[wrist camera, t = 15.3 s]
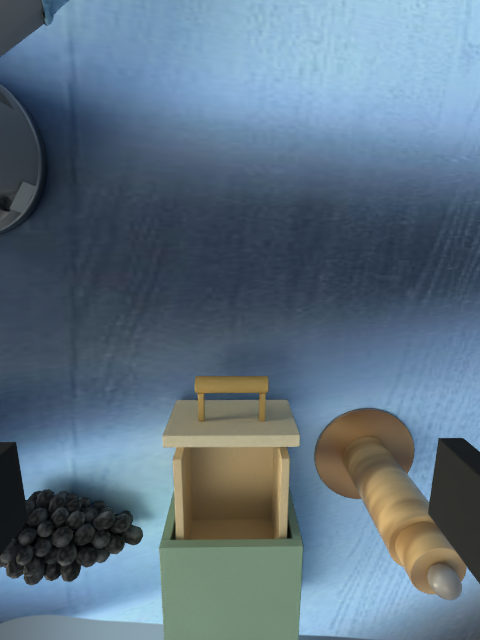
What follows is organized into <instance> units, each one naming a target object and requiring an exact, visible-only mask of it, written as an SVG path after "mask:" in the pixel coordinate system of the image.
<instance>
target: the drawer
mask: <svg viewBox="0 0 480 640" xmlns="http://www.w3.org/2000/svg"><path fill="white" fill-rule="evenodd" d="M268 388H269V383H268V376H196V378H195V392H196V393H198V400H176V403H175V405H174V408H173V411H172V413H171V416H170V418H169V421H168V424H167V426H166V429H165V431H164V434H163V447H177V448H176V451H175V454H174V458H173V474H174V498H175V522H176V540H222V539H287V520H288V495H289V471H290V457H289V454H288V450H287V447H299V446H300V434H299V431H298V428H297V425H296V423H295V420H294V417H293V414H292V411H291V409H290V406H289V403H288V400H266V393H268ZM204 393H259V400H205V397H204Z"/></svg>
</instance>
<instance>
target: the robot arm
mask: <svg viewBox="0 0 480 640" xmlns="http://www.w3.org/2000/svg"><path fill="white" fill-rule="evenodd" d="M68 1H69V0H0V57H1V56H2V55H3V54H5V53H6V52H7V51H9V50H10V49H11V48H13V47H14V46H15V45H17V44H18V43H19V42H21V41H22V40H23V39H25V38H26V37H27V36H28V35H30V34H31V33H32V32H34V31H35V30H36V29H38V28H39V27H40V26H42V25H43V24H45V25H46V26H48V25H49V24H51V22H52V21H53V17H54V14H55V13H56V12H57V11H58V10H59V9H60V8H61V7H62V6H63V5H64V4H65V3H66V2H68ZM45 180H46V155H45V149H44V145H43V141H42V138H41V135H40V133H39V130H38V128H37V126H36V124H35V122H34V120H33V118H32V117H31V115H30V114H29V112H28V111H27V109H26V108H25V107H24V105H23V104H22V103H21V102H20V101H19V100H18V99H17V98H16V96H14V95H13V94H12V93H11V92H10V91H9V90H8V89H6V88H5V87H4V86H2V85H1V84H0V234H2V233H5V232H8V231H10V230H12V229H14V228H15V227H17V226H18V225H20V224H21V223H22V222H23V221H25V220H26V219H27V218H28V216H29V215H30V214H31V213H32V212H33V210H34V209H35V207H36V206H37V204H38V202H39V200H40V198H41V195H42V192H43V189H44V185H45ZM428 514H429V516H430V517H431V518H432V520H433V521H434V523H435V524H436V525H437V527H438V528H439V529H440V531H441V532H442V533H443V535H444V536H445V537H446V539H447V540H448V542H449V543H450V544H451V546H452V547H453V548H454V550H455V551H456V552H457V554H458V555H459V556H460V558H461V559H462V561H463V562H464V563H465V565H466V566H467V567H468V569H469V570H470V571H471V573H472V574H473V575H474V577H475V578H476V579H477V581H478V582H479V584H480V452H479V451H478V450H477V449H476V448H474V447H473V446H472V445H471V444H470V443H468V442H467V441H466V440H465V439H463V438H439V440H438V447H437V454H436V461H435V468H434V475H433V482H432V488H431V495H430V502H429V509H428ZM27 520H28V515H27V509H26V503H25V496H24V490H23V484H22V477H21V471H20V464H19V458H18V452H17V445H16V442H0V556H1V554H2V553H3V552H4V550H5V549H6V548H7V546H8V545H9V544H10V542H11V541H12V540H13V538H14V537H15V536H16V534H17V533H18V532H19V530H20V529H21V528H22V527H23V525H24V524H25V523H26V521H27Z"/></svg>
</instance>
